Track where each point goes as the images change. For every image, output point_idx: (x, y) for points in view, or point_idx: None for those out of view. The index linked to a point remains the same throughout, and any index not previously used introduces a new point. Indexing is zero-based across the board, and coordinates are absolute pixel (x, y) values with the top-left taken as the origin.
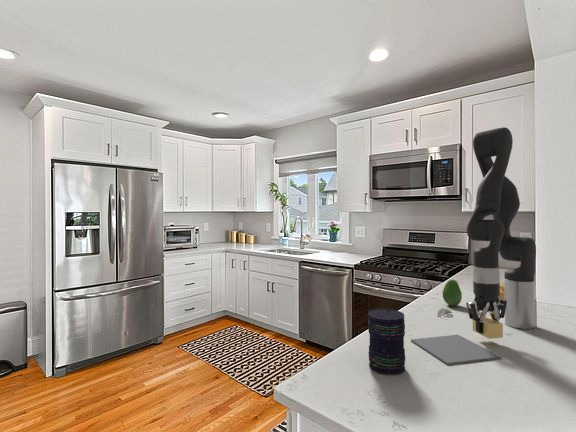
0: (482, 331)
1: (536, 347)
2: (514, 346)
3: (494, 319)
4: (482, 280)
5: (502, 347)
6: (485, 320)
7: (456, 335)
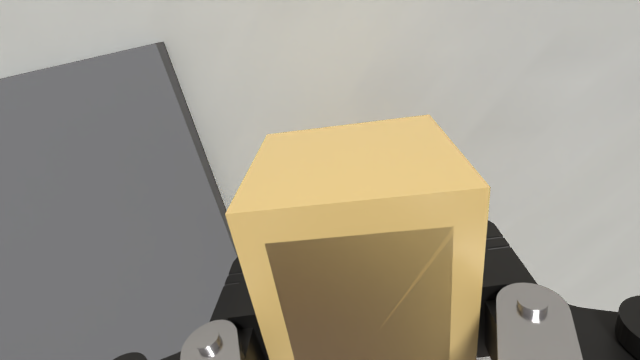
0: None
1: (626, 278)
2: None
3: (490, 341)
4: None
5: None
6: (340, 348)
7: (136, 67)
